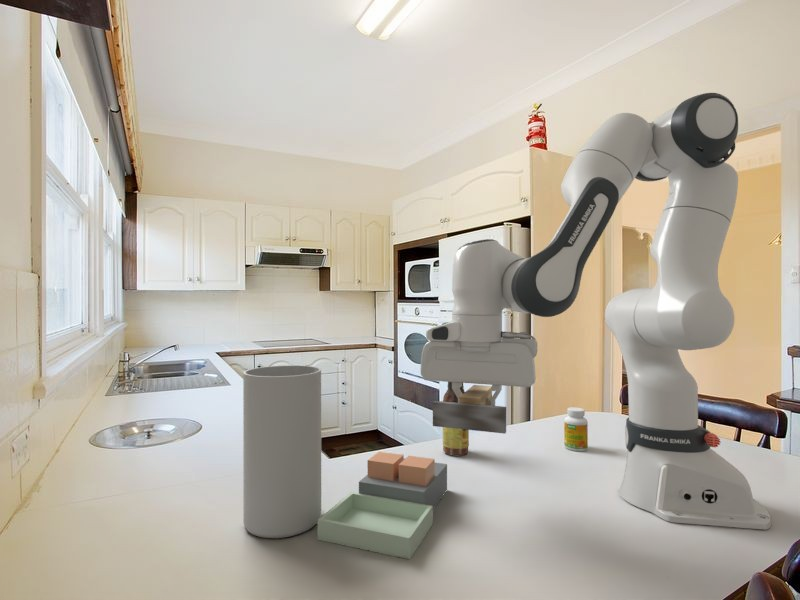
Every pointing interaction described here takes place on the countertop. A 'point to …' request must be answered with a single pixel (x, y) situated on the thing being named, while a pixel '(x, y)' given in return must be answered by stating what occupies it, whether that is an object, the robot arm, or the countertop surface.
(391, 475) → the orange block
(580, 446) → the supplement bottle
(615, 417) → the countertop surface
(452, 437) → the sauce bottle
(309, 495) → the cylinder vase
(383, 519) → the tray
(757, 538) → the countertop surface
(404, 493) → the board
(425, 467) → the peach block
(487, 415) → the grey and tan blocks
